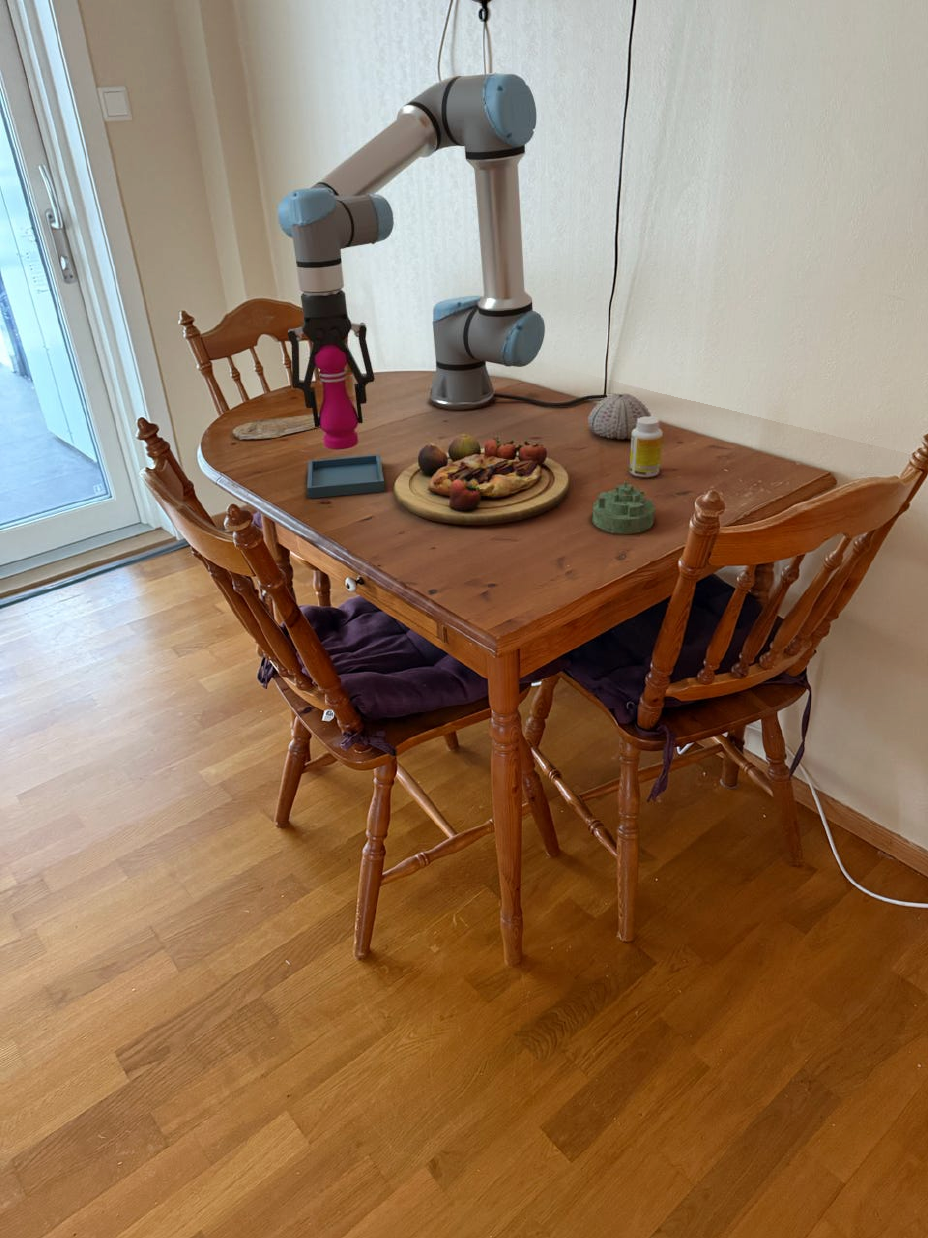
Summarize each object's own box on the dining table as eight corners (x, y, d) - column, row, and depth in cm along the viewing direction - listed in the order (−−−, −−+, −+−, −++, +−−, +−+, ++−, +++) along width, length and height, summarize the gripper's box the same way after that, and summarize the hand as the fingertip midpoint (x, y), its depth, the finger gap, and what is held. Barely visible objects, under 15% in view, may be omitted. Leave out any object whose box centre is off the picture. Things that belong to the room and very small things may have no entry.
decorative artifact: (599, 505, 145) (586, 530, 137) (601, 467, 141) (588, 490, 133) (658, 511, 142) (647, 537, 134) (661, 472, 138) (651, 496, 130)
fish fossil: (332, 408, 197) (332, 403, 197) (352, 422, 190) (352, 417, 190) (227, 430, 185) (227, 425, 185) (244, 446, 178) (244, 441, 178)
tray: (380, 463, 166) (379, 453, 165) (385, 491, 154) (383, 480, 153) (309, 470, 165) (308, 460, 163) (308, 498, 153) (307, 487, 152)
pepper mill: (368, 439, 157) (356, 329, 146) (347, 452, 151) (334, 339, 141) (335, 435, 159) (321, 327, 149) (314, 448, 154) (298, 337, 143)
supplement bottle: (665, 474, 155) (670, 421, 150) (640, 480, 153) (645, 426, 148) (647, 465, 159) (651, 412, 154) (623, 471, 157) (626, 418, 152)
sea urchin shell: (598, 419, 183) (599, 383, 178) (659, 426, 177) (662, 388, 173) (578, 439, 172) (579, 401, 168) (643, 447, 167) (646, 408, 163)
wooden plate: (522, 543, 134) (521, 495, 129) (359, 509, 148) (354, 465, 143) (596, 473, 157) (598, 430, 153) (450, 449, 171) (448, 409, 167)
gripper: (380, 282, 145) (392, 411, 157) (263, 291, 143) (284, 420, 155) (383, 290, 139) (394, 424, 151) (260, 299, 137) (282, 434, 149)
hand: (338, 422), depth 153 cm, fingers closed on pepper mill, 7 cm apart
